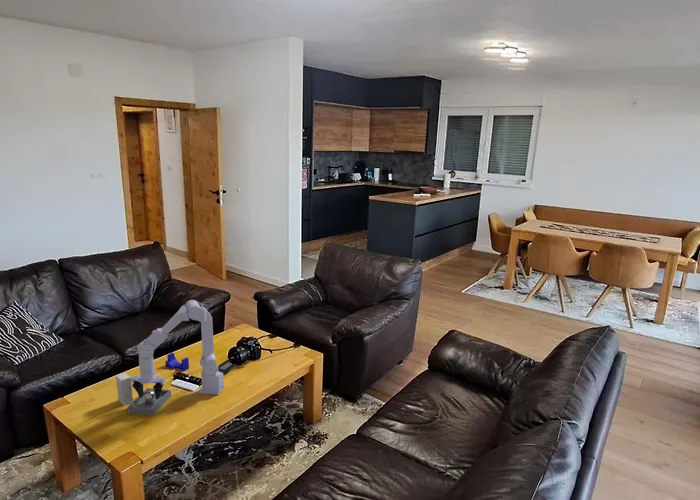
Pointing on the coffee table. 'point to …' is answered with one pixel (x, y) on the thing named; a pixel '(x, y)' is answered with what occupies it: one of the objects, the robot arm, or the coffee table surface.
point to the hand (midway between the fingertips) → (149, 397)
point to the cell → (149, 397)
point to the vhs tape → (226, 367)
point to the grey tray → (141, 408)
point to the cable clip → (177, 363)
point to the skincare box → (124, 388)
